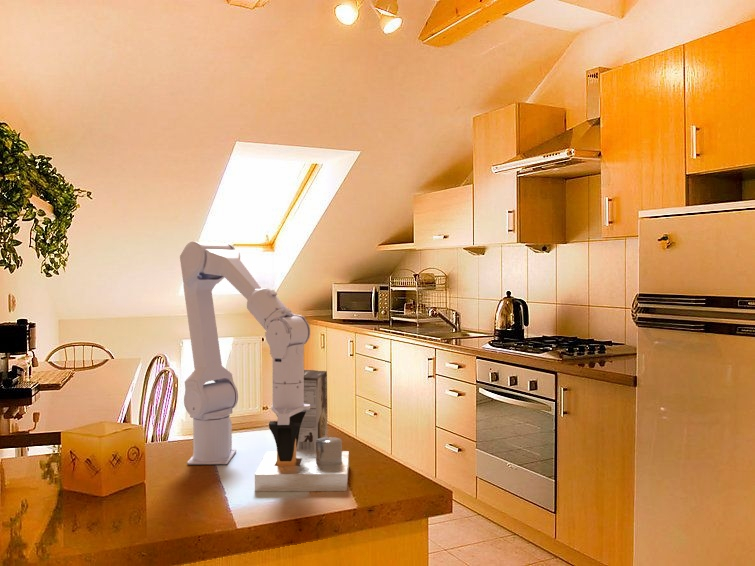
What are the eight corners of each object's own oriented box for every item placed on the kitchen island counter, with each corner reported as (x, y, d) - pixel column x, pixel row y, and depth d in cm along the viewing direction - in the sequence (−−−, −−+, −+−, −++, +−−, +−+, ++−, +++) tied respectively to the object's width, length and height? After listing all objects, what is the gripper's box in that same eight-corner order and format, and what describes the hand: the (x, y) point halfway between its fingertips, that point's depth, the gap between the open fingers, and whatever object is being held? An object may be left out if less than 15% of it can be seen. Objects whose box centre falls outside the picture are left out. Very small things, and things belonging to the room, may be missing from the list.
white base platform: (267, 466, 126) (267, 431, 126) (348, 466, 127) (348, 430, 127) (254, 491, 112) (254, 451, 112) (346, 490, 113) (346, 451, 113)
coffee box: (300, 440, 146) (300, 369, 145) (328, 441, 145) (328, 370, 144) (289, 452, 136) (288, 376, 136) (318, 453, 136) (318, 377, 135)
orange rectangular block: (279, 475, 121) (279, 438, 121) (296, 475, 121) (296, 438, 121) (276, 481, 118) (276, 443, 118) (294, 481, 118) (294, 443, 118)
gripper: (306, 388, 112) (306, 466, 112) (313, 374, 126) (313, 443, 127) (265, 388, 112) (265, 466, 112) (277, 374, 126) (277, 443, 127)
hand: (288, 454), depth 119 cm, fingers open, 7 cm apart
